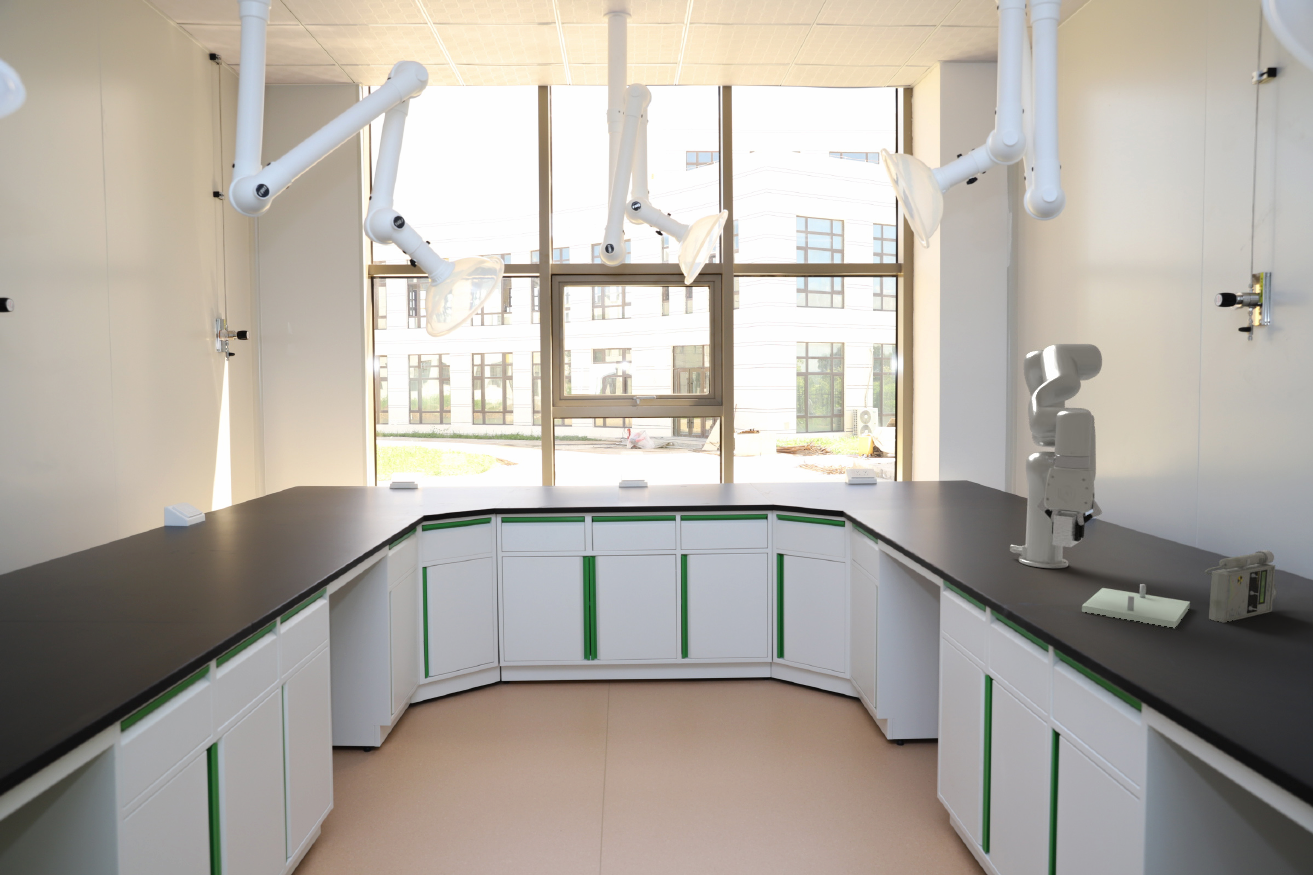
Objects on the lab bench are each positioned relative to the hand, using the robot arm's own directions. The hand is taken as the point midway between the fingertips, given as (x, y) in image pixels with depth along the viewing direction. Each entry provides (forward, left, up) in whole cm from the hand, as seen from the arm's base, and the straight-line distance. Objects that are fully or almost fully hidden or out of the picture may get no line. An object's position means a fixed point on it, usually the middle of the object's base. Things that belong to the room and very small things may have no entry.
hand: (1067, 538), depth 196 cm
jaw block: (0, 0, -1) cm, 1 cm away
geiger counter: (+34, +14, -15) cm, 40 cm away
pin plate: (+15, 0, -14) cm, 21 cm away
